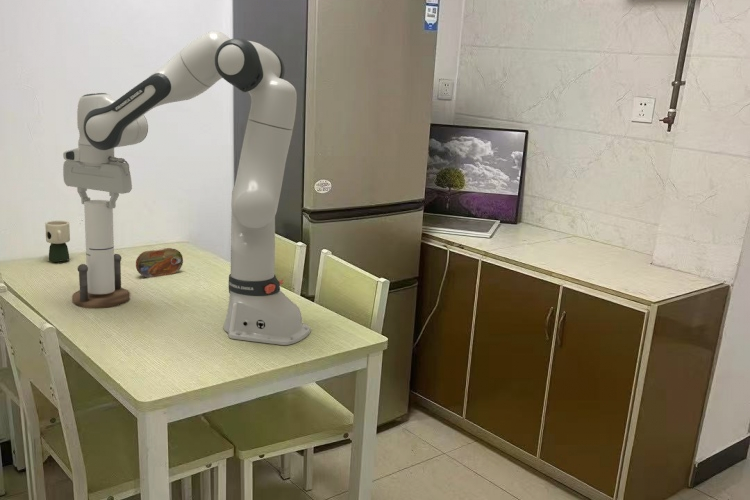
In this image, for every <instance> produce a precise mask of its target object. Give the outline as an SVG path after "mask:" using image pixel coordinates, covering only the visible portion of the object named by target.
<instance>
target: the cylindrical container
mask: <svg viewBox="0 0 750 500" xmlns="http://www.w3.org/2000/svg"><path fill="white" fill-rule="evenodd" d="M108 201H109V200H107V199H93V200H91V199H90V200H89V201H85V202H84V204H83V206H84V207H83V208H84V209H83V210H84V229H85V230H84V233H85V260H86V264H85V265H87V267H88V271H87V284H88V293H91V294H108V293H111V292H114V291H115V276H114V254H115V248H114V247H115V244H114V243H115V242H114V240H115V239H114V212H113V211H114V208H113V209H111V208H107V202H108Z"/></svg>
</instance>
